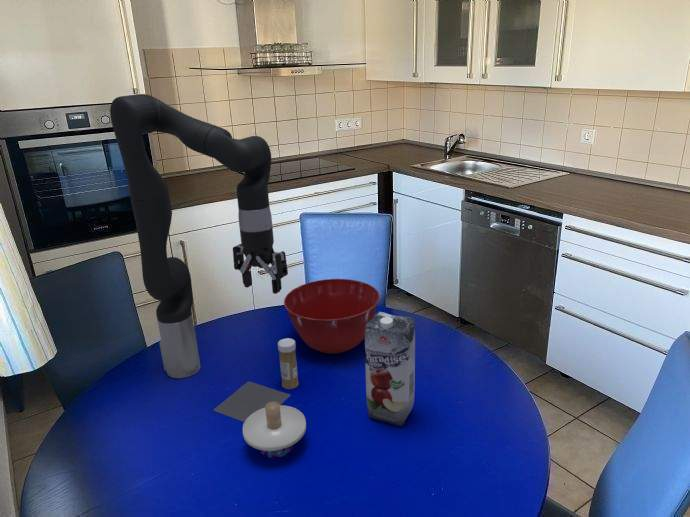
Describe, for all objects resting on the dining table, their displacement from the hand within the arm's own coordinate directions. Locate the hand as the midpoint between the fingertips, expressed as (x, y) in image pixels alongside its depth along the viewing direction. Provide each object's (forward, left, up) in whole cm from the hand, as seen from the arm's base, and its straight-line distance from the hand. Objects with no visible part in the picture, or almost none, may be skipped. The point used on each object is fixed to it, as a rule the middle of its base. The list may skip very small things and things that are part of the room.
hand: (262, 289), depth 129 cm
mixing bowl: (+1, +30, -30) cm, 43 cm away
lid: (+13, -16, -25) cm, 32 cm away
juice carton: (+31, +6, -30) cm, 44 cm away
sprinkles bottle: (+2, +5, -30) cm, 31 cm away
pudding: (+13, -16, -31) cm, 37 cm away
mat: (-2, -6, -30) cm, 31 cm away
